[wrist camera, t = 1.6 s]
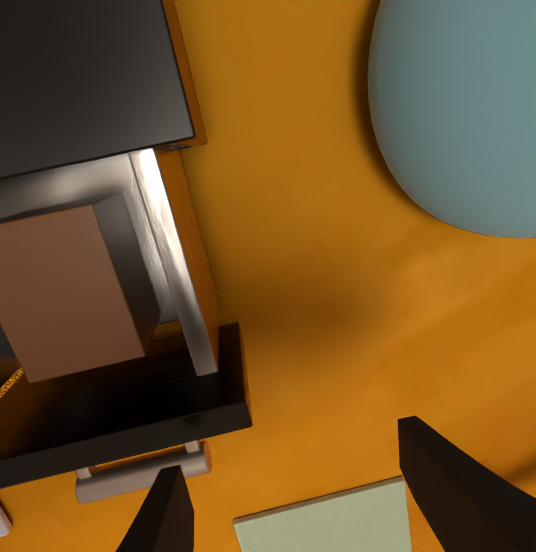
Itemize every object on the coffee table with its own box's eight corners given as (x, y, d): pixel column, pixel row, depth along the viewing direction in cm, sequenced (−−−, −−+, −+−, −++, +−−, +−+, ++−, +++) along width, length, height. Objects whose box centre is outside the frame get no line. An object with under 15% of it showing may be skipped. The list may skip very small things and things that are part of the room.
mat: (262, 611, 29) (262, 617, 29) (232, 519, 26) (233, 524, 25) (412, 571, 30) (414, 577, 29) (402, 475, 26) (404, 480, 26)
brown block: (69, 335, 18) (28, 384, 14) (17, 213, 16) (-46, 232, 12) (161, 314, 18) (146, 356, 15) (121, 191, 16) (91, 203, 13)
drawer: (259, 403, 22) (274, 508, 16) (62, 451, 21) (-5, 580, 15) (174, 65, 16) (142, 8, 10) (-99, 120, 16) (-324, 99, 9)
